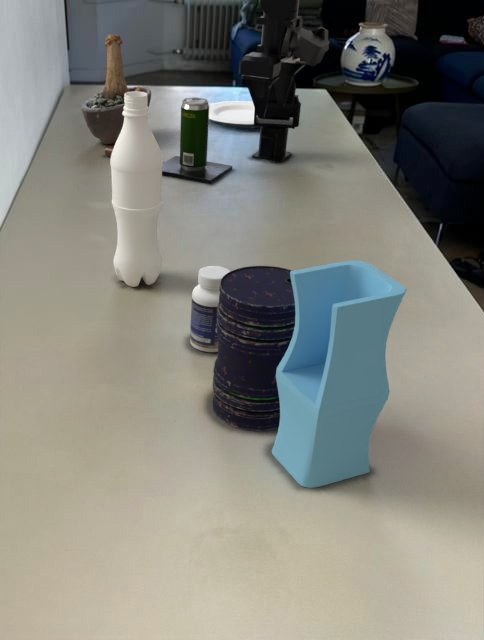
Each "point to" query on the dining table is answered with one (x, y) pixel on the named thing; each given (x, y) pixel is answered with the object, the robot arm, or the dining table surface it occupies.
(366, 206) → the dining table surface
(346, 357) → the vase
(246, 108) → the plate
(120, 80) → the planter
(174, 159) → the spatula
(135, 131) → the water bottle
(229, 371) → the storage jar
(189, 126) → the beer can
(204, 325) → the pill bottle
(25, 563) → the dining table surface
